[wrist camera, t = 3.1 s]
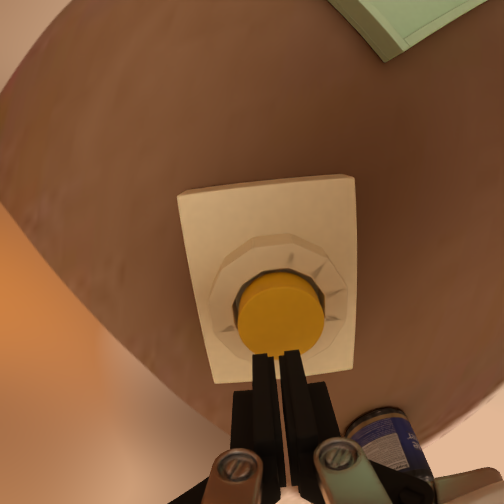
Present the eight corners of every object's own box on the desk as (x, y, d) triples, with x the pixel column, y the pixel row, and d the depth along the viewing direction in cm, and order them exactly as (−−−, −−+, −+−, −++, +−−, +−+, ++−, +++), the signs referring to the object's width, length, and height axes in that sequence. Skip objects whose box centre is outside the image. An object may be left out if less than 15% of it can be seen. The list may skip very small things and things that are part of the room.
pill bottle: (409, 430, 24) (446, 517, 14) (352, 454, 25) (374, 547, 15) (400, 395, 23) (447, 497, 12) (334, 424, 23) (359, 534, 13)
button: (234, 275, 15) (231, 291, 14) (316, 267, 15) (324, 281, 13) (244, 344, 17) (243, 364, 15) (318, 336, 16) (324, 355, 15)
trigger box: (185, 189, 18) (166, 201, 14) (343, 173, 17) (367, 181, 13) (217, 363, 21) (211, 403, 17) (345, 350, 21) (359, 387, 17)
